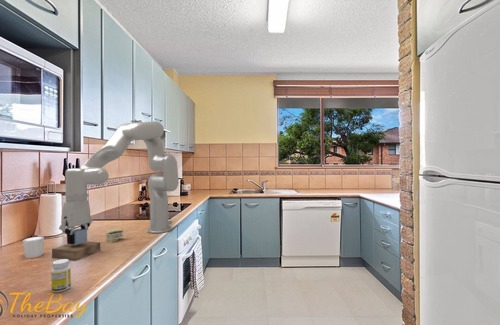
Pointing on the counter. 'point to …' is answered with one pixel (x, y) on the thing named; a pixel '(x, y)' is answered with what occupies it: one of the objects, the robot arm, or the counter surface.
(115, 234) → the stacked layers on plate
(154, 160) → the robot arm
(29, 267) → the counter surface
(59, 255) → the walnut block
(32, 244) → the white short cylinder
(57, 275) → the supplement bottle
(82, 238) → the slate cube
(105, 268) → the counter surface
